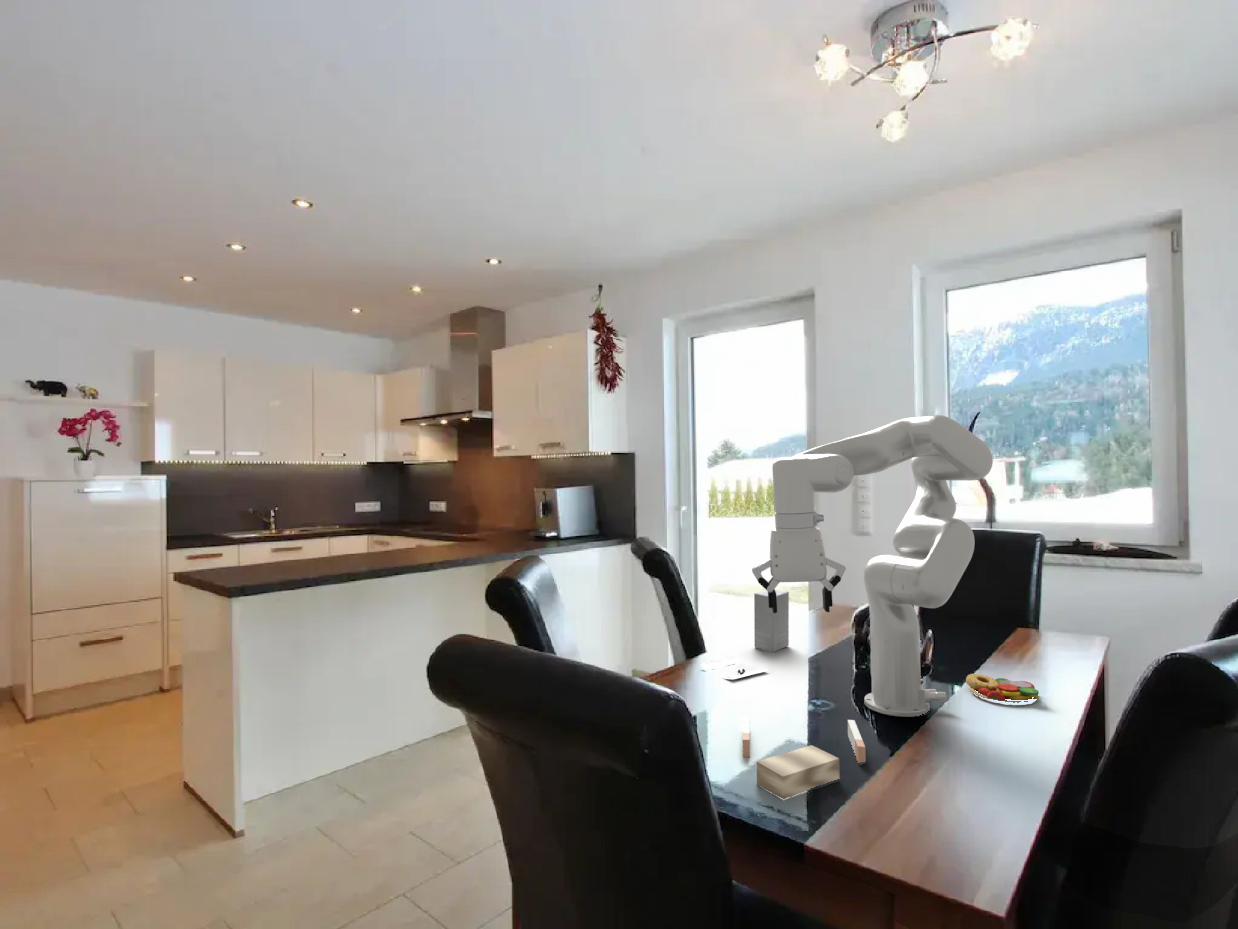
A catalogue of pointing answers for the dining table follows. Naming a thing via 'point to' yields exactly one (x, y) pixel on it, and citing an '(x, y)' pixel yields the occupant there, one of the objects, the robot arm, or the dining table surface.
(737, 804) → the dining table surface
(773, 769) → the birch block
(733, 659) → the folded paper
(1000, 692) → the toy food set
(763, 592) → the skincare box
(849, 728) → the walled lane
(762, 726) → the dining table surface
